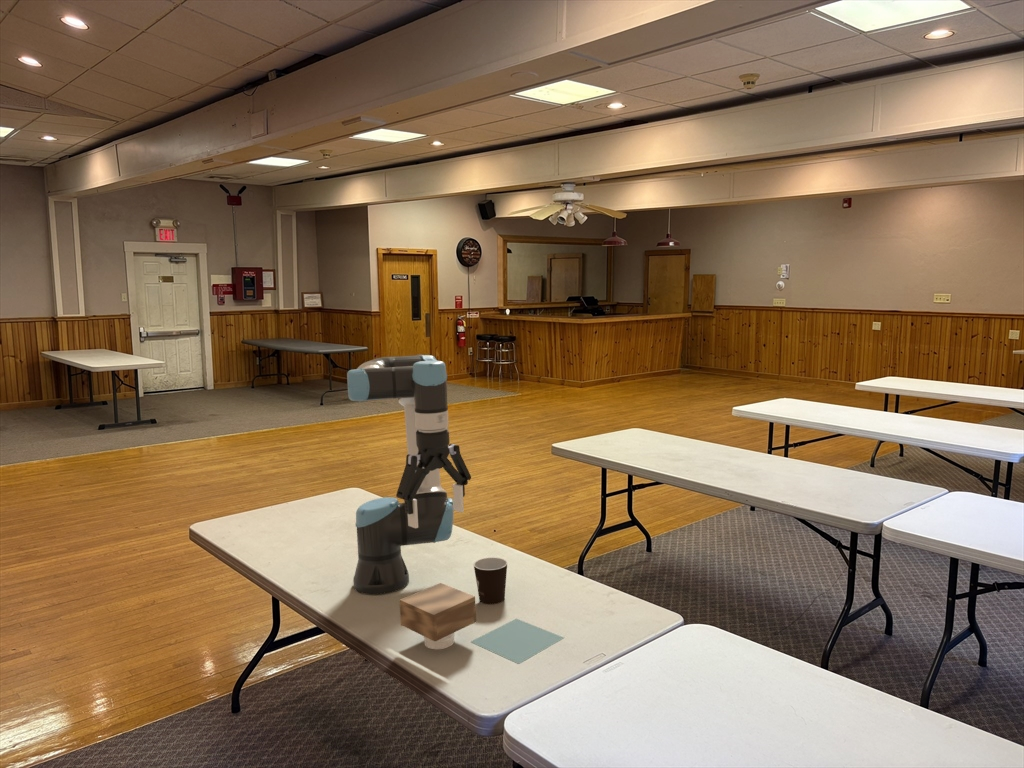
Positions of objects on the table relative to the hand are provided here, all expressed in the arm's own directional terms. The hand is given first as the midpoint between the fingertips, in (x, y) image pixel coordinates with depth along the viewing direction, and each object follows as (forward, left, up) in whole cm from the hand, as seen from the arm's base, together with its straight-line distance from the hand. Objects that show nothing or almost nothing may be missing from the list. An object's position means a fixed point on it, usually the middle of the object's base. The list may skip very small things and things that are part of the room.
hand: (436, 518), depth 163 cm
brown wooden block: (+5, -5, -22) cm, 23 cm away
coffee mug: (-3, +20, -27) cm, 34 cm away
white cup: (+5, -5, -27) cm, 28 cm away
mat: (+18, +7, -27) cm, 33 cm away
